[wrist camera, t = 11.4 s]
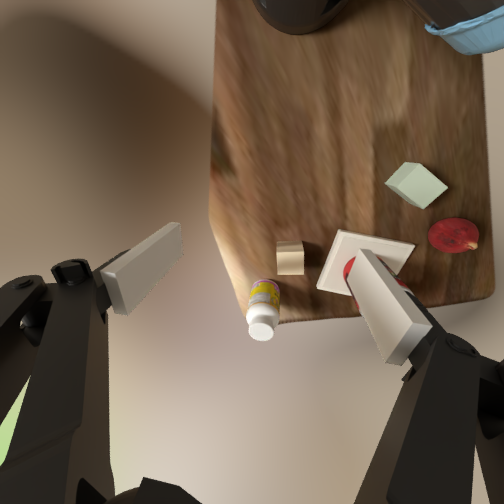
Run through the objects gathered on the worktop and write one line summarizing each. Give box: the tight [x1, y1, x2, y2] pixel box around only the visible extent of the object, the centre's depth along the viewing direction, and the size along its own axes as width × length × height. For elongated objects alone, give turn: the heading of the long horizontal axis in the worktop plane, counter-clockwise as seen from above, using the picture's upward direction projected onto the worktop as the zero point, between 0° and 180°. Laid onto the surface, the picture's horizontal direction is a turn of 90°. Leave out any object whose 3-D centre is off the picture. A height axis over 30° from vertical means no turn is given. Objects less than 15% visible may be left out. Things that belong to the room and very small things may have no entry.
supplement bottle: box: [246, 279, 280, 341], centre depth 42 cm, size 7×7×13 cm
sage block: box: [385, 162, 448, 209], centre depth 32 cm, size 4×6×4 cm, turn 57°
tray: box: [316, 229, 415, 296], centre depth 41 cm, size 14×14×1 cm
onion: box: [428, 217, 479, 253], centre depth 33 cm, size 6×6×8 cm
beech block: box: [277, 241, 304, 275], centre depth 40 cm, size 5×5×5 cm
